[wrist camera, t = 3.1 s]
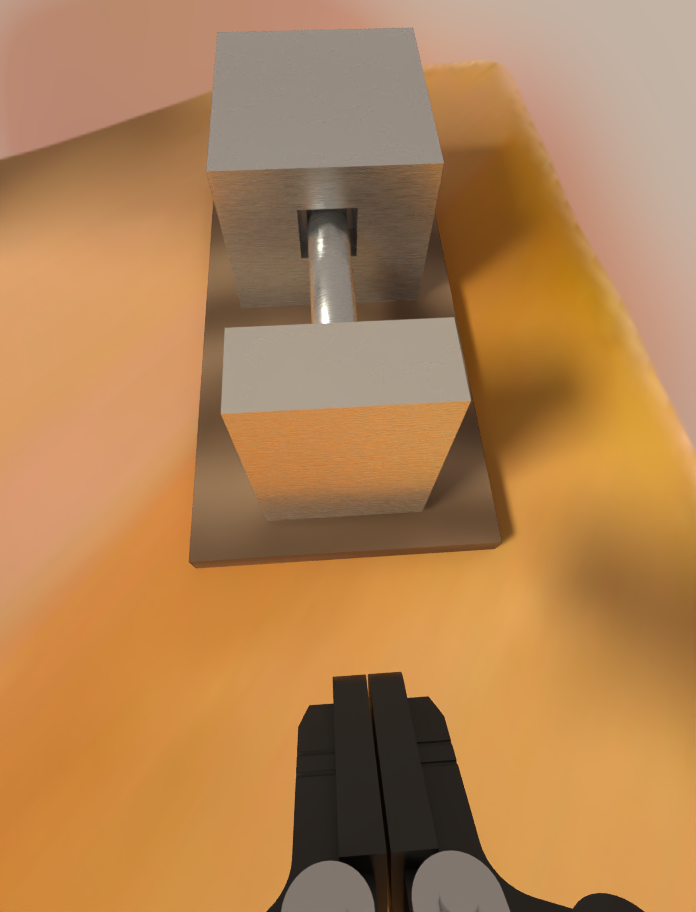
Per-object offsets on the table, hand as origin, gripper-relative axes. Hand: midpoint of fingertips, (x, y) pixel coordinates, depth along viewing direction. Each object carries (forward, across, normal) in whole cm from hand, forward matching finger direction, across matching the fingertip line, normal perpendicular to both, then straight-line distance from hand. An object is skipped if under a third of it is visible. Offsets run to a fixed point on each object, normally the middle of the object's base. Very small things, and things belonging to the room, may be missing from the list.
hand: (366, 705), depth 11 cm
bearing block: (+25, 0, -11) cm, 27 cm away
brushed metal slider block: (+19, 0, -6) cm, 20 cm away
